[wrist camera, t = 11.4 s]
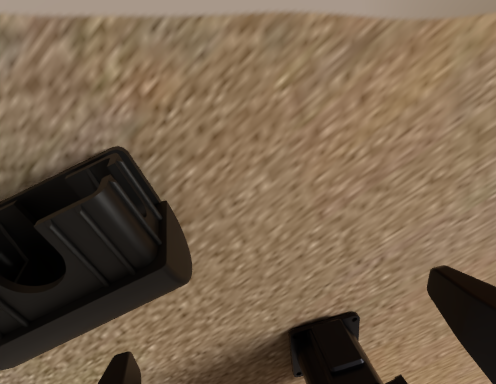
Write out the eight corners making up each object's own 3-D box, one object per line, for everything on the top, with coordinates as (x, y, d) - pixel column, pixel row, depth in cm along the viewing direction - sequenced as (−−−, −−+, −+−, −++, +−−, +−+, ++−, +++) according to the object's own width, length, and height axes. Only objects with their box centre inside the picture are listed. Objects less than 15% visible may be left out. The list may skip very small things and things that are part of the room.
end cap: (55, 294, 22) (14, 396, 16) (-31, 216, 18) (-126, 310, 12) (189, 229, 22) (198, 307, 16) (130, 138, 18) (112, 195, 12)
